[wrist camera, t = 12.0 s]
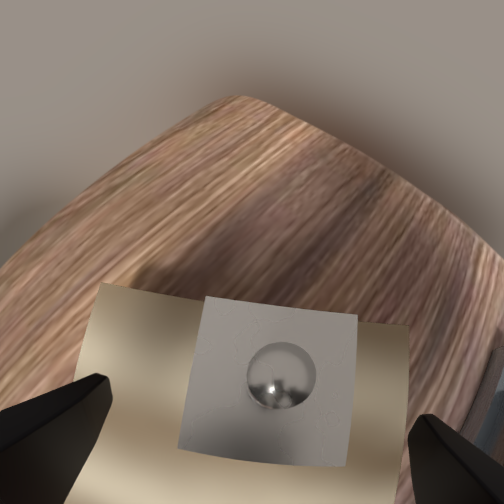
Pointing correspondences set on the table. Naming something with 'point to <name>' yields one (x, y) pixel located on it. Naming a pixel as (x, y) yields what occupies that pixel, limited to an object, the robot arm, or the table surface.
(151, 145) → the table surface
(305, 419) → the gray knob block
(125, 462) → the beige wooden slab
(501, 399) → the gray stepped fixture
